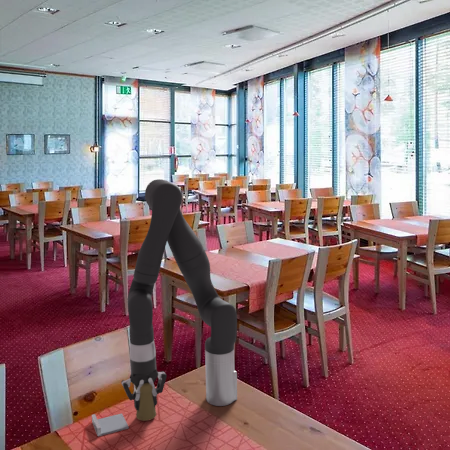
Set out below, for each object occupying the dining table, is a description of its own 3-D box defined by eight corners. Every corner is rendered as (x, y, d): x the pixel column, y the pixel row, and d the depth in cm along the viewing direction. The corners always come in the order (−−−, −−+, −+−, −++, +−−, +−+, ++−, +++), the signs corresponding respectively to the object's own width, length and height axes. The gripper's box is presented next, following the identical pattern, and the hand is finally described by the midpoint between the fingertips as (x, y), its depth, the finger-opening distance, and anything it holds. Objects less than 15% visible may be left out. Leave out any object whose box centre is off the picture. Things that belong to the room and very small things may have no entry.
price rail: (95, 421, 151) (95, 414, 150) (101, 435, 144) (100, 427, 143) (92, 422, 150) (91, 414, 150) (97, 436, 143) (97, 428, 143)
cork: (152, 421, 149) (150, 387, 147) (133, 419, 150) (130, 385, 148) (159, 410, 155) (157, 377, 153) (140, 408, 156) (138, 375, 154)
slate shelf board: (121, 415, 154) (121, 413, 154) (128, 428, 147) (128, 426, 147) (95, 421, 151) (95, 419, 151) (101, 435, 144) (101, 433, 143)
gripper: (161, 345, 155) (164, 397, 158) (116, 355, 149) (119, 408, 152) (169, 355, 148) (172, 408, 152) (122, 365, 143) (125, 420, 146)
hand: (145, 408), depth 152 cm, fingers closed on cork, 4 cm apart
